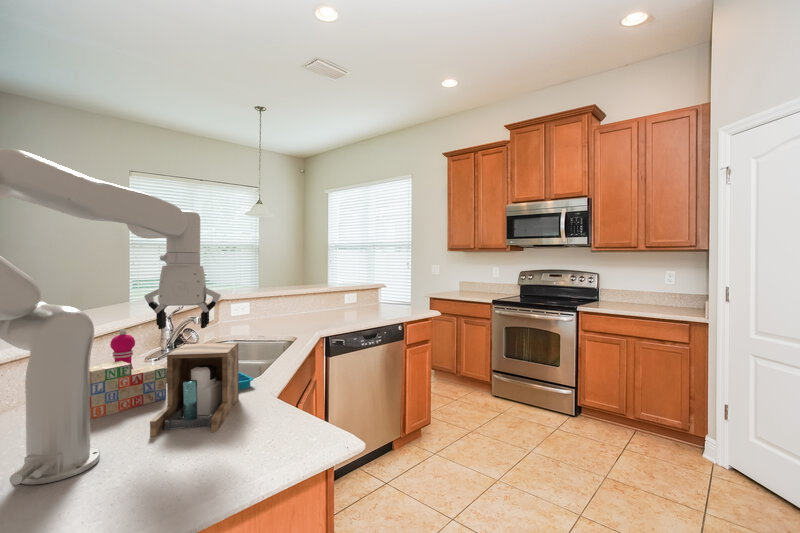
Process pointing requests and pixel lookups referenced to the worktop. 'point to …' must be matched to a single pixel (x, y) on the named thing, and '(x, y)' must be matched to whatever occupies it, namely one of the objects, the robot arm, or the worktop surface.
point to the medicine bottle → (207, 389)
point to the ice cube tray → (244, 381)
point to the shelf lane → (180, 371)
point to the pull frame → (188, 410)
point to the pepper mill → (123, 347)
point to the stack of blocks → (124, 387)
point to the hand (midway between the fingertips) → (183, 327)
